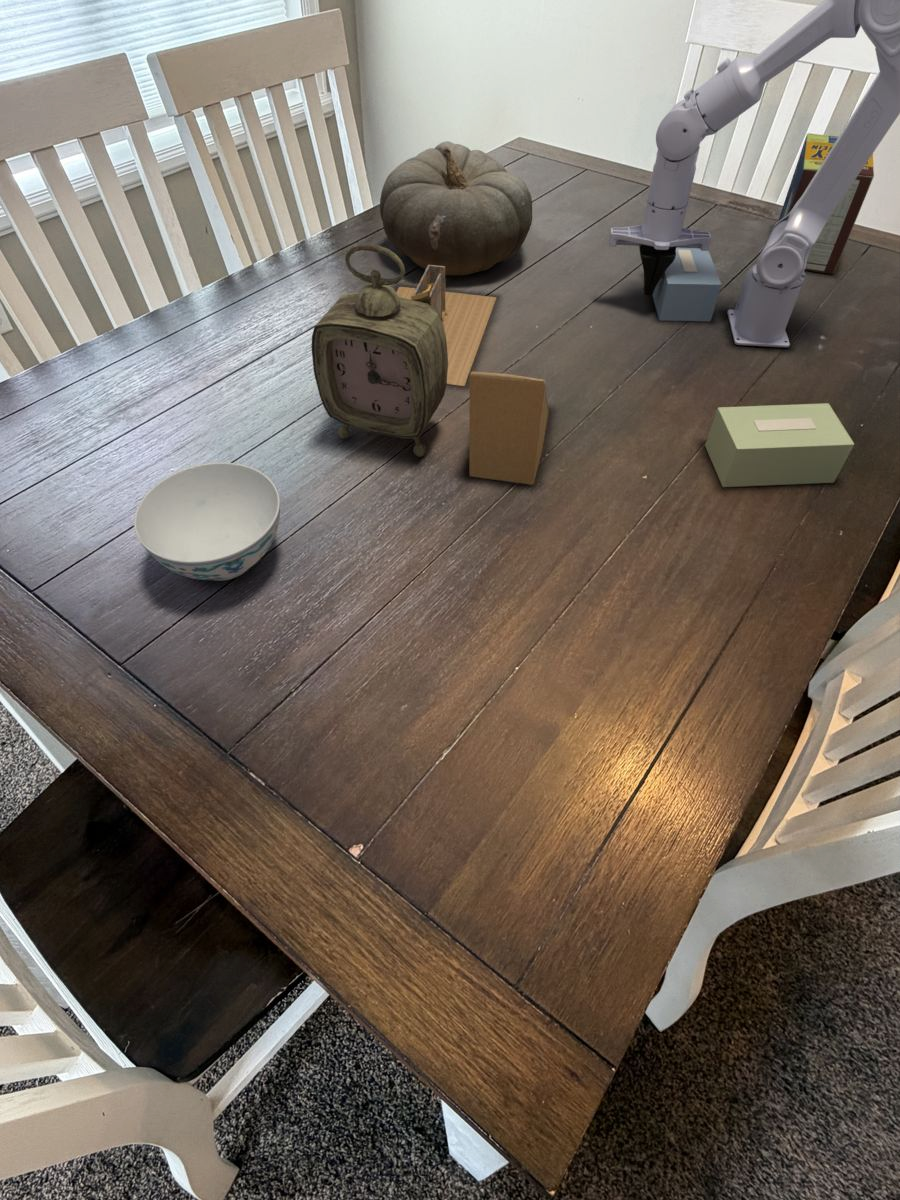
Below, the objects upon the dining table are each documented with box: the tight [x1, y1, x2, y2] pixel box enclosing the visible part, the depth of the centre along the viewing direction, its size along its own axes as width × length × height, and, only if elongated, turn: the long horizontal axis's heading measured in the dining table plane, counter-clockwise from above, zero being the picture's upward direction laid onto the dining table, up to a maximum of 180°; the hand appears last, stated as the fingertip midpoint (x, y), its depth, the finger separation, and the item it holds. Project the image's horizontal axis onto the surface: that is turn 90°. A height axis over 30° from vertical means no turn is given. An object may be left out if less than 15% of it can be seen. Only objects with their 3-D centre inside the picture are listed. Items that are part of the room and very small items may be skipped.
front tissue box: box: [704, 402, 855, 488], centre depth 90 cm, size 8×14×6 cm, turn 93°
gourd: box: [379, 140, 533, 277], centre depth 121 cm, size 25×25×17 cm
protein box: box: [777, 132, 875, 275], centre depth 122 cm, size 10×15×16 cm
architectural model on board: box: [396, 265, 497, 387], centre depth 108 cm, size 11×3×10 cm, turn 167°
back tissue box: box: [652, 248, 722, 322], centre depth 116 cm, size 14×8×6 cm, turn 178°
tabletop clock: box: [311, 243, 448, 458], centre depth 87 cm, size 14×9×25 cm, turn 70°
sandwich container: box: [468, 371, 550, 486], centre depth 90 cm, size 9×15×15 cm, turn 168°
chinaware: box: [133, 462, 281, 582], centre depth 80 cm, size 15×15×8 cm
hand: (647, 292), depth 115 cm, fingers closed
